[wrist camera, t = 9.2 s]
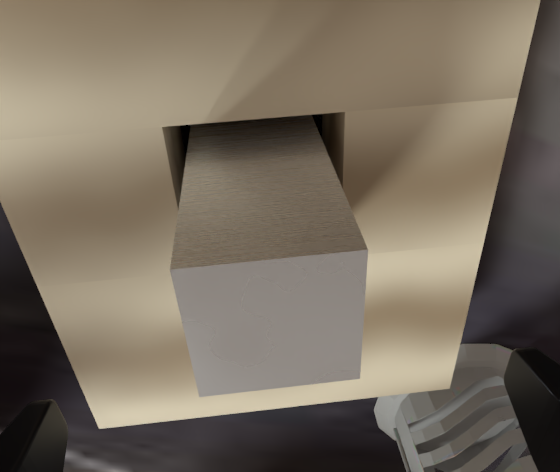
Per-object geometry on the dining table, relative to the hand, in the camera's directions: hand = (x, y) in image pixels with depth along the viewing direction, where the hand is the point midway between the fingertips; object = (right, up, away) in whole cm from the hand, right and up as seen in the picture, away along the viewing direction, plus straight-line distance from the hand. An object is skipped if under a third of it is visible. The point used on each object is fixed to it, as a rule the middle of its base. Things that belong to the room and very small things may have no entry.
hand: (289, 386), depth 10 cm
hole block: (-1, +6, +10) cm, 12 cm away
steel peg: (-1, +6, +10) cm, 12 cm away
